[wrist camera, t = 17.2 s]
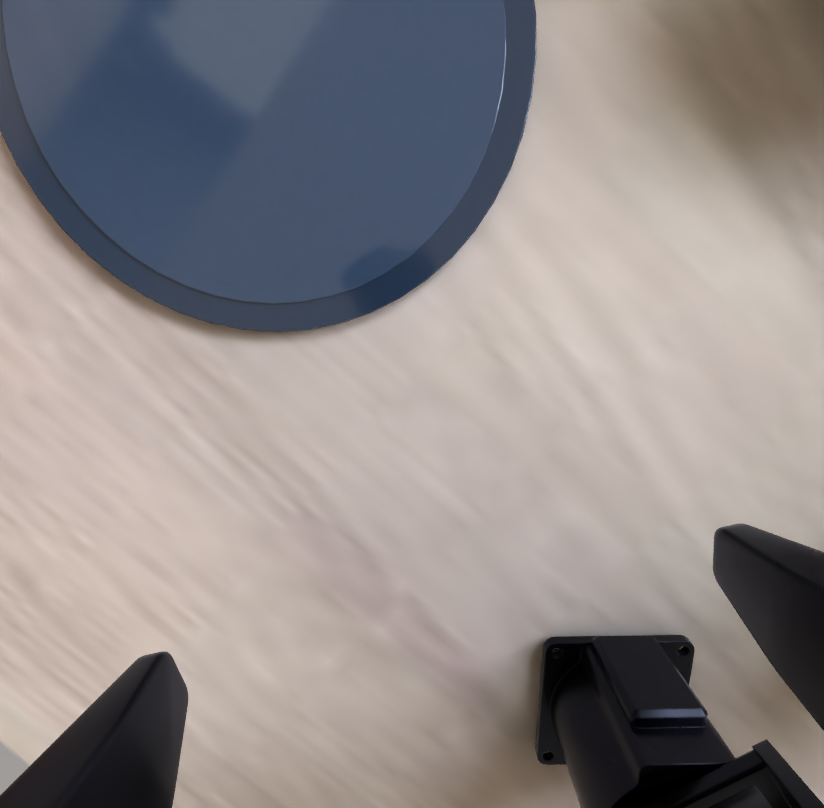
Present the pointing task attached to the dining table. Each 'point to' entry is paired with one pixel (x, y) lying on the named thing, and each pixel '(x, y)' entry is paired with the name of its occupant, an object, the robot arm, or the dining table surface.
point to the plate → (267, 142)
